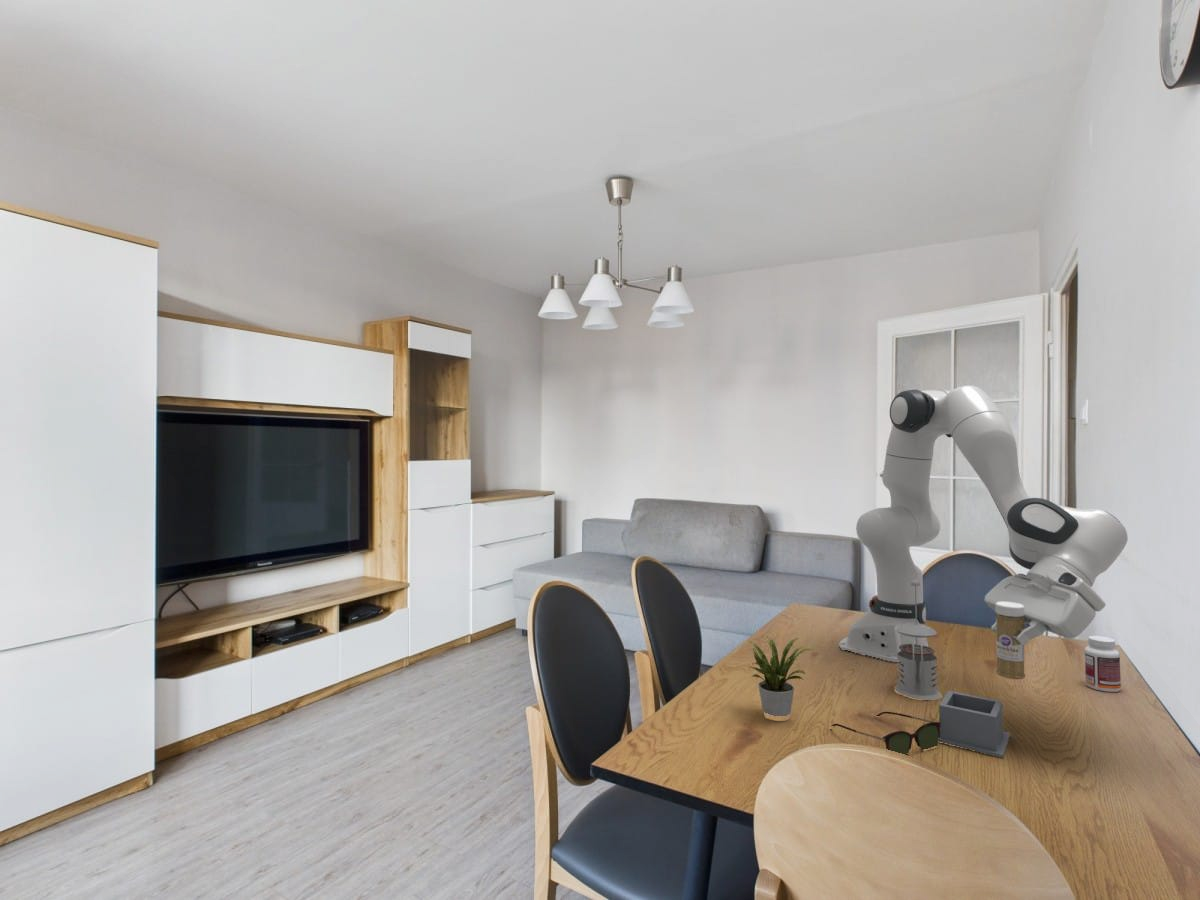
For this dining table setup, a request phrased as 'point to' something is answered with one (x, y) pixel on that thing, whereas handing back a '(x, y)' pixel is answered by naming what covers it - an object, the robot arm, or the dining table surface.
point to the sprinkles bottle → (1009, 640)
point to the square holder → (973, 723)
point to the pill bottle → (1102, 664)
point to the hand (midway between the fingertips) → (1006, 637)
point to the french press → (917, 662)
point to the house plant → (776, 679)
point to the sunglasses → (908, 736)
